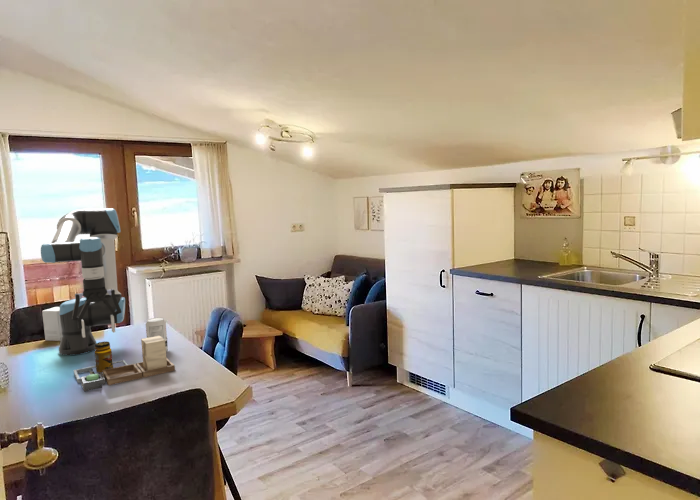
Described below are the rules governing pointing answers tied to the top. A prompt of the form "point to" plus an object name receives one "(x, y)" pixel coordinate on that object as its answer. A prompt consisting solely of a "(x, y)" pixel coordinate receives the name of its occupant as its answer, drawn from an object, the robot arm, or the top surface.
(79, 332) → the robot arm
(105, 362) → the condiment
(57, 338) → the supplement box
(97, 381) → the button housing
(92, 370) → the frame
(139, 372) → the brown divided tray
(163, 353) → the block
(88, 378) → the button
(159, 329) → the supplement can
